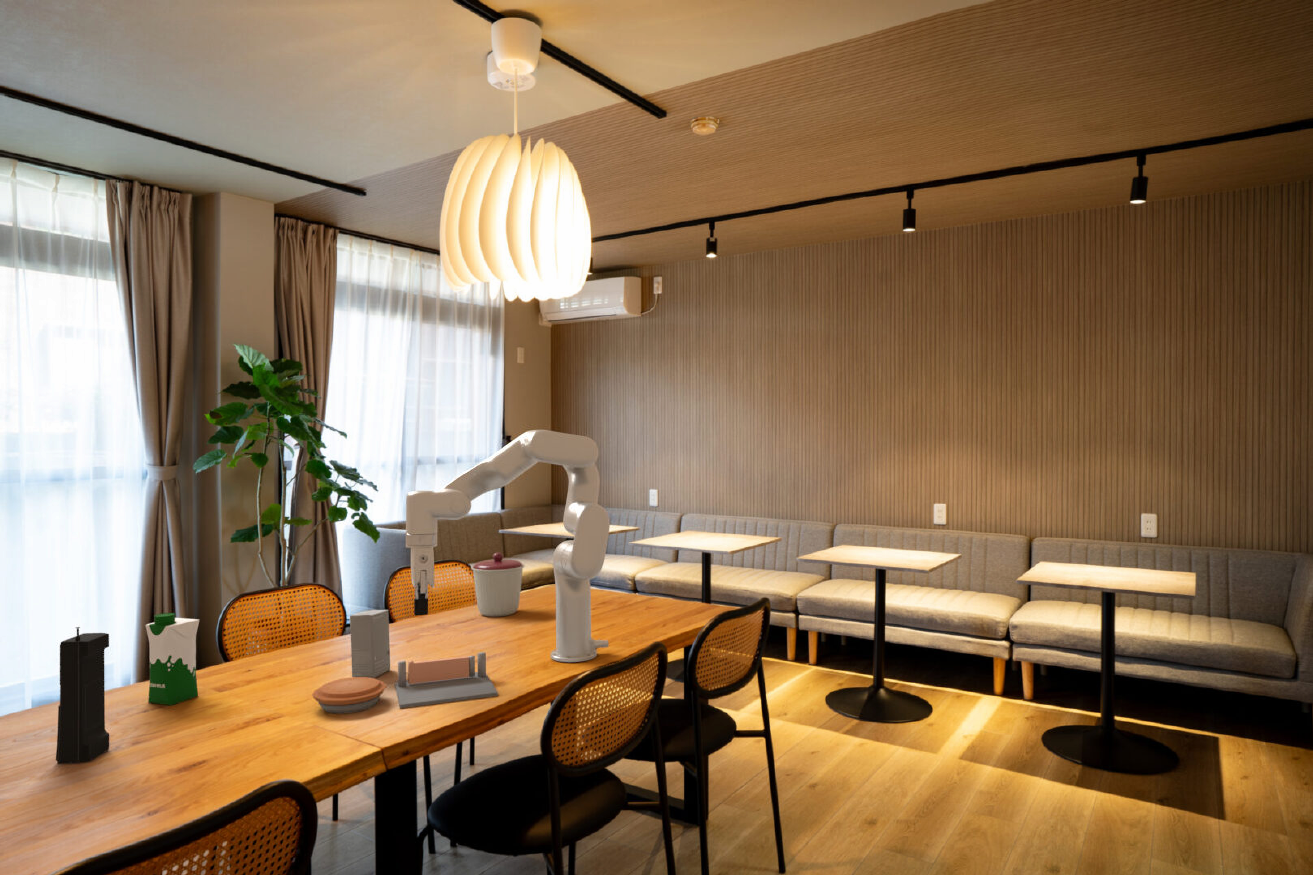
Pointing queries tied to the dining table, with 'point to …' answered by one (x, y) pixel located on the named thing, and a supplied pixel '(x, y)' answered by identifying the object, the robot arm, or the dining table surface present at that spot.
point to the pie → (349, 694)
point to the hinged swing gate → (444, 687)
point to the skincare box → (370, 643)
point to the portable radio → (82, 699)
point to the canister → (498, 585)
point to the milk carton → (172, 659)
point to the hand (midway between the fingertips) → (421, 614)
